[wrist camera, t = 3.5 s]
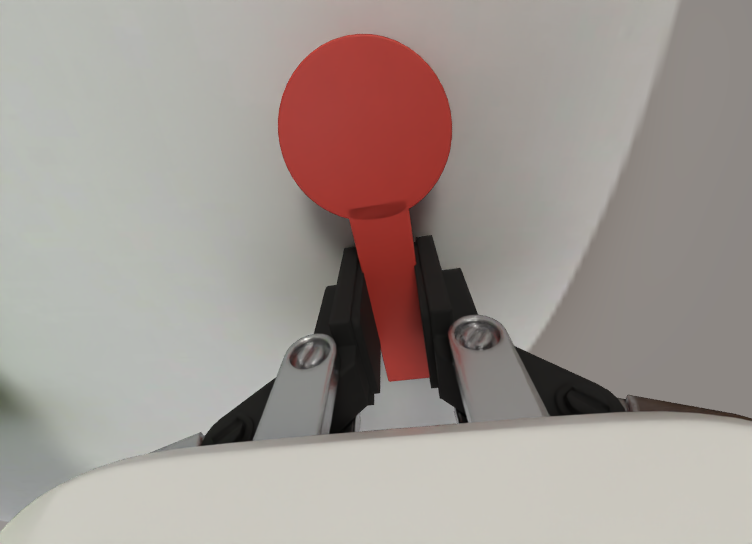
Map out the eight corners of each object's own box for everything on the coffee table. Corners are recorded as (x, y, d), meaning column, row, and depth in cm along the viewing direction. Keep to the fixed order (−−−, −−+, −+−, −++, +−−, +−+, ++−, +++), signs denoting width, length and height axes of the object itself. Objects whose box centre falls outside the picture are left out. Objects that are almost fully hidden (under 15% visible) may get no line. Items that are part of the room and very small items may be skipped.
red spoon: (360, 349, 14) (357, 385, 12) (274, 58, 8) (249, 57, 7) (455, 339, 13) (464, 374, 12) (434, 22, 8) (447, 11, 6)
